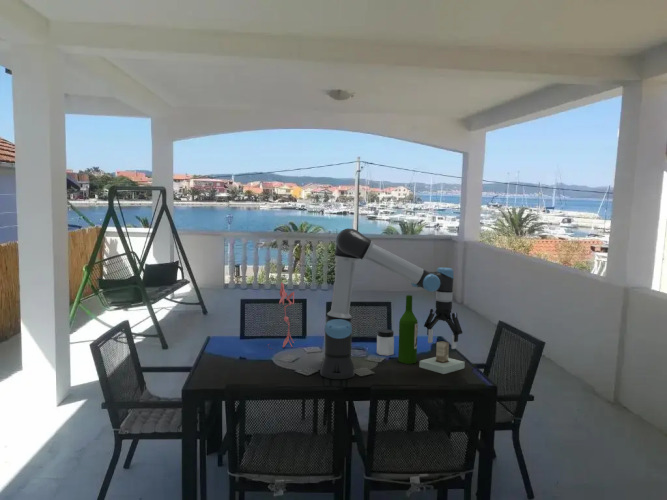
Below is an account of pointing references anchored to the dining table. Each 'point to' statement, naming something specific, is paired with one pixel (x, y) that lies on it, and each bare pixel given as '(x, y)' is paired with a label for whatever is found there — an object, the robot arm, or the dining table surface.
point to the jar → (385, 342)
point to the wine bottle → (408, 335)
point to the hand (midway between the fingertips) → (441, 345)
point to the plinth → (442, 365)
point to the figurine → (283, 295)
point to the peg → (442, 352)
